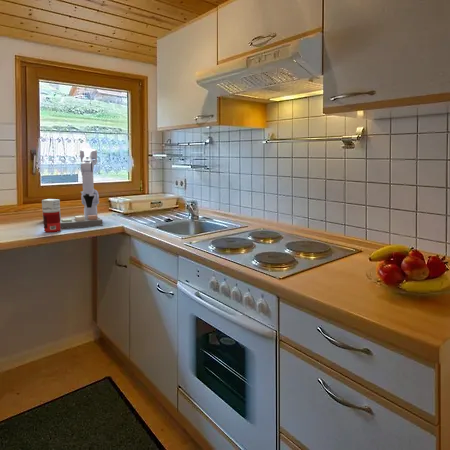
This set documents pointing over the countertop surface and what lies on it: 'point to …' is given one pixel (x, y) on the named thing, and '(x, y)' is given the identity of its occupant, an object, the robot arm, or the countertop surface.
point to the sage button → (66, 220)
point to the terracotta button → (92, 217)
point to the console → (81, 223)
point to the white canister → (51, 205)
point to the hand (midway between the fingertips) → (89, 207)
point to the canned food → (51, 221)
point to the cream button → (79, 218)
